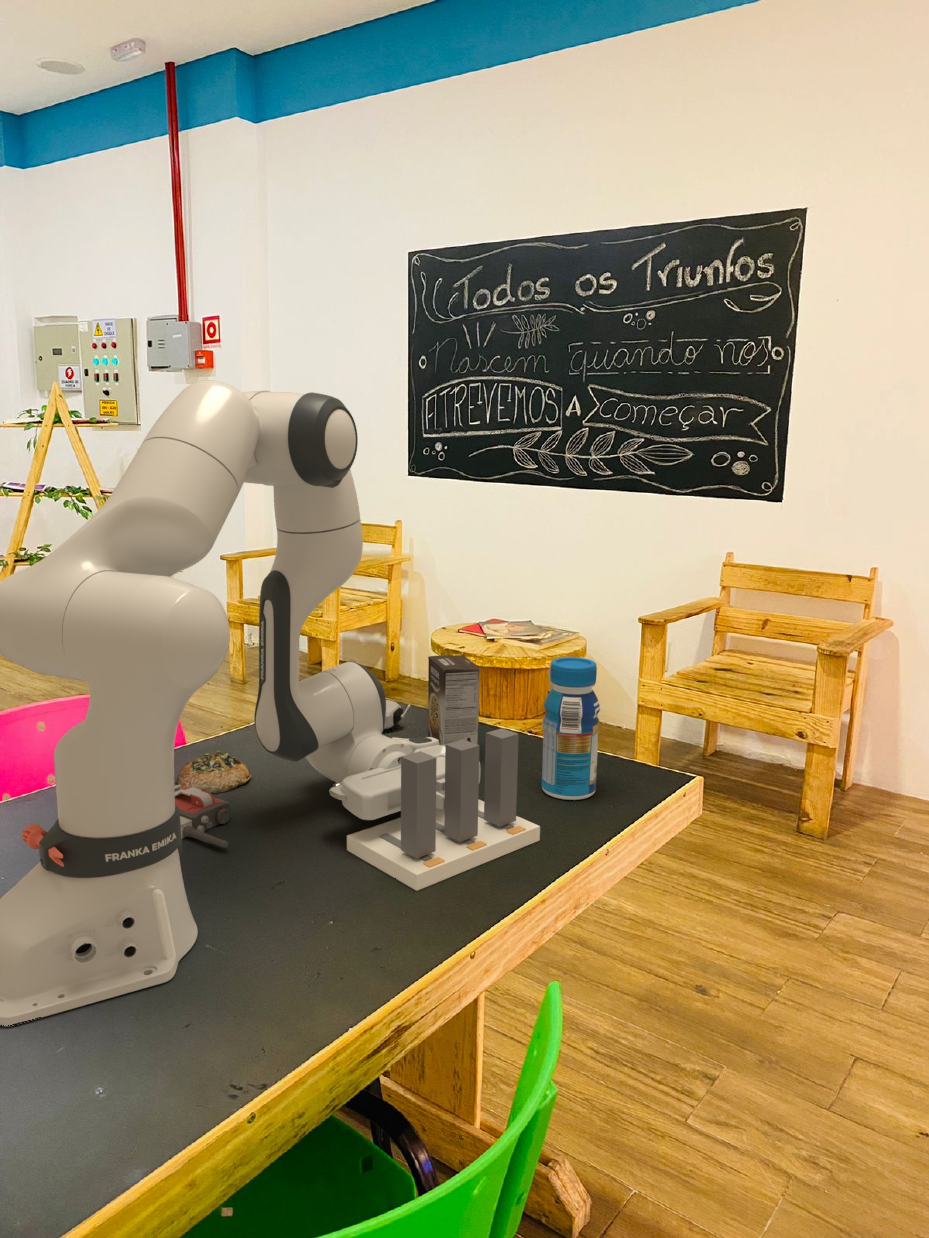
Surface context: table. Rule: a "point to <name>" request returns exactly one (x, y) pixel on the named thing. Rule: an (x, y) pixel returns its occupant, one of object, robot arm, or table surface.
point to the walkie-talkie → (201, 813)
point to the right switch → (501, 777)
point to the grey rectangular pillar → (461, 790)
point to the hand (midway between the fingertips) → (452, 800)
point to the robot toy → (393, 713)
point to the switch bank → (439, 849)
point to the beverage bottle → (571, 730)
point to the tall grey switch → (418, 804)
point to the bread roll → (214, 773)
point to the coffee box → (453, 699)
